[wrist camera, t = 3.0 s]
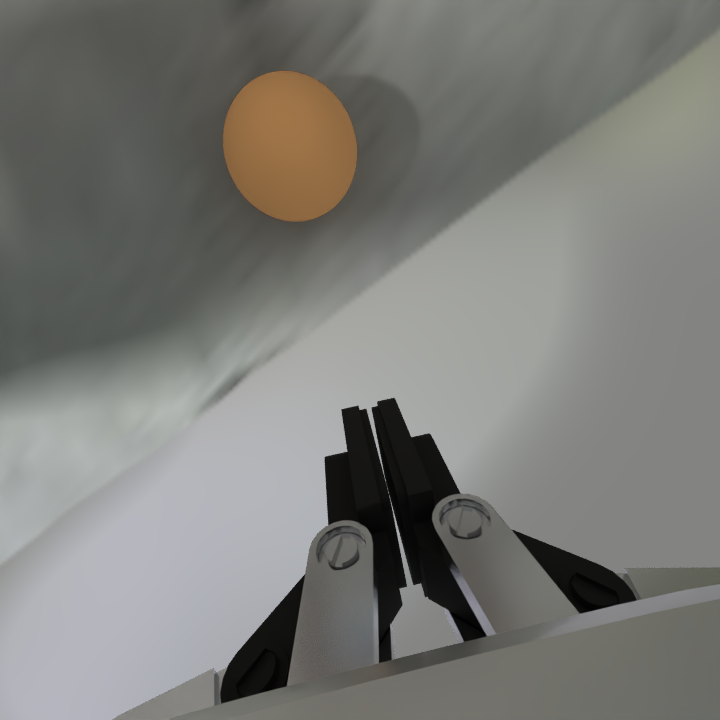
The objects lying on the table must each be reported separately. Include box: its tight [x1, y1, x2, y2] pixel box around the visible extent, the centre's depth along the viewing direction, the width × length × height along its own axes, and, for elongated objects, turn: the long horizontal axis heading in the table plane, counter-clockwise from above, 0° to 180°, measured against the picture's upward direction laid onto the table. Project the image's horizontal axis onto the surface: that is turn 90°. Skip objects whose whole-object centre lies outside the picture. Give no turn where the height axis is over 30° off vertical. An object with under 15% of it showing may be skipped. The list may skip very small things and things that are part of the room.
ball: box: [223, 71, 357, 222], centre depth 17 cm, size 6×6×6 cm
